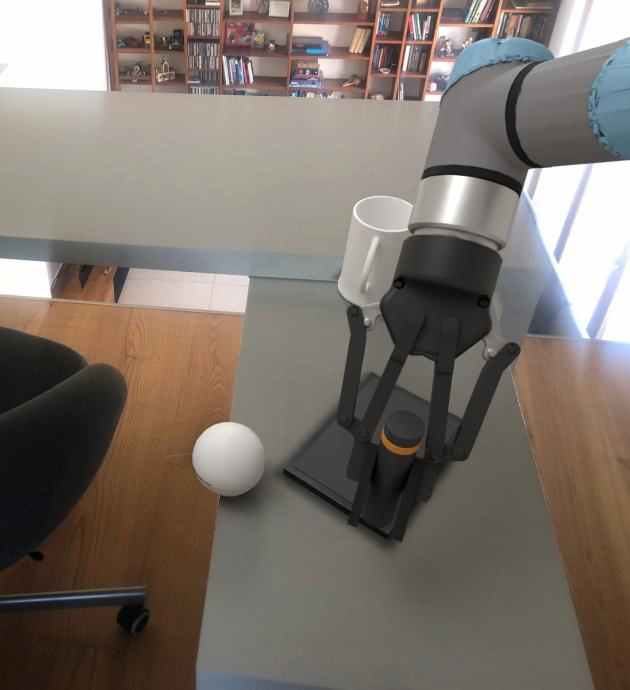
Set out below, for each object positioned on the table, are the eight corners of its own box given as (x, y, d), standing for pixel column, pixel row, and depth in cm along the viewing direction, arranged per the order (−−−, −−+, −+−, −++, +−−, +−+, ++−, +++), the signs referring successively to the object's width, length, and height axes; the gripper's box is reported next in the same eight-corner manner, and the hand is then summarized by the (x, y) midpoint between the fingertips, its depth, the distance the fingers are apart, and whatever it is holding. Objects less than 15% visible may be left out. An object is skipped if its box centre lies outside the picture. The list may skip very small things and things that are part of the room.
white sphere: (267, 457, 74) (272, 412, 68) (258, 516, 68) (263, 472, 63) (175, 442, 75) (173, 397, 70) (159, 499, 70) (157, 455, 65)
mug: (381, 332, 87) (401, 254, 79) (318, 309, 91) (330, 233, 82) (410, 281, 94) (431, 205, 86) (350, 262, 98) (365, 187, 89)
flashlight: (400, 512, 60) (432, 422, 52) (383, 534, 58) (414, 445, 50) (370, 494, 61) (397, 403, 53) (353, 515, 60) (378, 426, 52)
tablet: (467, 428, 76) (469, 422, 75) (386, 540, 66) (388, 534, 65) (369, 377, 82) (371, 370, 81) (282, 473, 72) (283, 467, 71)
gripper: (551, 274, 56) (473, 553, 56) (355, 233, 61) (284, 491, 61) (575, 257, 49) (486, 577, 49) (351, 213, 53) (271, 505, 54)
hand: (374, 529), depth 55 cm, fingers closed on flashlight, 3 cm apart
